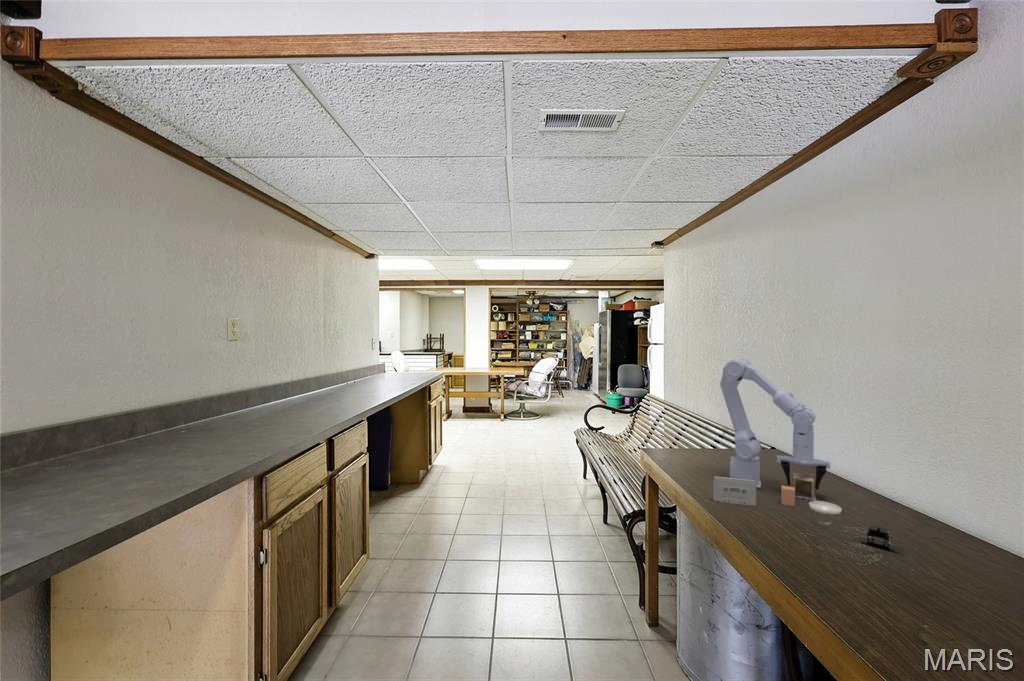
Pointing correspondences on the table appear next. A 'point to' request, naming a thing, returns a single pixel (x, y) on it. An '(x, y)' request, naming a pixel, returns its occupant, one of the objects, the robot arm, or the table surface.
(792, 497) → the block
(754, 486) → the cassette
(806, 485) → the beige open box
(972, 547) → the table surface
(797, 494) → the pad
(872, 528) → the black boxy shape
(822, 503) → the dish
